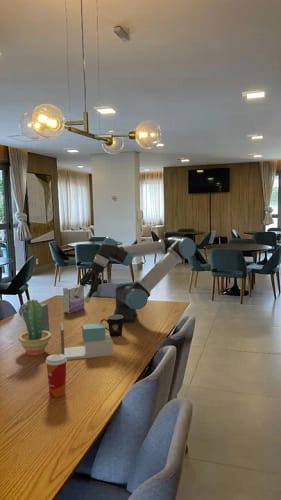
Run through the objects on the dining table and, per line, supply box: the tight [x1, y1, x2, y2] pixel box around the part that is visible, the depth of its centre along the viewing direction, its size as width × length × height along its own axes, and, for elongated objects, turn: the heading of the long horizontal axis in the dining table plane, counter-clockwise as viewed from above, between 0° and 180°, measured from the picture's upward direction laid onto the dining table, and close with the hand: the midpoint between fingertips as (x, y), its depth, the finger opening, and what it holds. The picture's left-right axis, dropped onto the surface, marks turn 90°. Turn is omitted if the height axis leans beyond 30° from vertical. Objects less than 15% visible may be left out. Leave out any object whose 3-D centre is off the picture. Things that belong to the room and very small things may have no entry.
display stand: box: [59, 321, 114, 361], centre depth 179 cm, size 23×12×14 cm, turn 104°
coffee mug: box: [100, 314, 124, 338], centre depth 204 cm, size 12×9×10 cm
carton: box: [81, 322, 106, 342], centre depth 179 cm, size 10×7×6 cm
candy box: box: [62, 284, 85, 315], centre depth 252 cm, size 14×6×16 cm, turn 144°
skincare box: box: [40, 303, 50, 332], centre depth 207 cm, size 8×7×16 cm
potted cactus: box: [17, 299, 52, 356], centre depth 180 cm, size 15×15×25 cm
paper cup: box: [45, 353, 68, 398], centre depth 140 cm, size 8×8×14 cm
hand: (81, 299), depth 206 cm, fingers open, 13 cm apart
